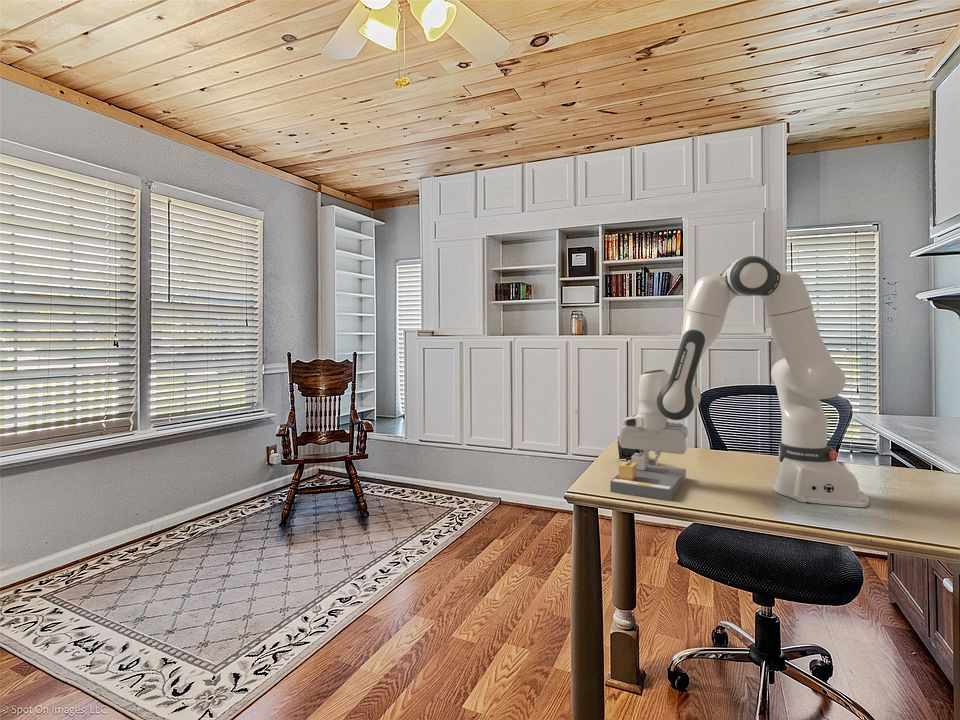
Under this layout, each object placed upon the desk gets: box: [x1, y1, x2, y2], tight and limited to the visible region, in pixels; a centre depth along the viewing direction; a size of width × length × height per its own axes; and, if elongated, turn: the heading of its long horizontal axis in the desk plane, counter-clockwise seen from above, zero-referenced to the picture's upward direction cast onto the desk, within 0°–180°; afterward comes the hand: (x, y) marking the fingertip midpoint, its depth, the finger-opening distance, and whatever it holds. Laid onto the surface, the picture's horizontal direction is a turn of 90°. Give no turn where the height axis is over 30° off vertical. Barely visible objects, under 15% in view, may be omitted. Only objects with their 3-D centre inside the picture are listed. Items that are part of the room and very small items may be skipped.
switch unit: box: [609, 464, 687, 502], centre depth 161 cm, size 17×24×3 cm
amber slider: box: [618, 461, 637, 480], centre depth 158 cm, size 4×5×5 cm
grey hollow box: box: [617, 434, 643, 461], centre depth 187 cm, size 9×5×9 cm, turn 57°
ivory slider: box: [631, 452, 648, 470], centre depth 168 cm, size 4×5×5 cm
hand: (652, 464), depth 166 cm, fingers closed
